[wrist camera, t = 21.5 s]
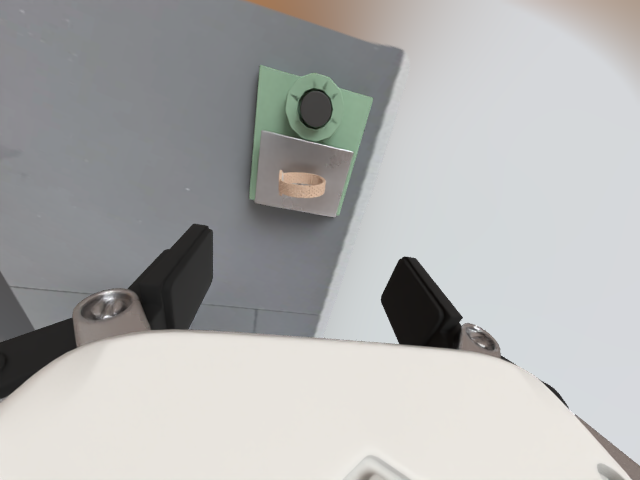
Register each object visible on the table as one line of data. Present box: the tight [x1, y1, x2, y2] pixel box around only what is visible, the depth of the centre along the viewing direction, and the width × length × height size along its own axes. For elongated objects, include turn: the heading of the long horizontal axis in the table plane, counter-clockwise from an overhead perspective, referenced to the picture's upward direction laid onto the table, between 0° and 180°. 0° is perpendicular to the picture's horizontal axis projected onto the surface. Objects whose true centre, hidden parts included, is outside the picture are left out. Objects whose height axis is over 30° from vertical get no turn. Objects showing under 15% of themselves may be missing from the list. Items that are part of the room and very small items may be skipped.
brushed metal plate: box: [255, 130, 354, 217], centre depth 26 cm, size 8×10×1 cm
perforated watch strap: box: [279, 170, 326, 198], centre depth 23 cm, size 3×5×5 cm, turn 85°
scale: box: [249, 65, 373, 215], centre depth 26 cm, size 14×12×3 cm
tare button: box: [300, 91, 331, 127], centre depth 22 cm, size 3×3×2 cm
